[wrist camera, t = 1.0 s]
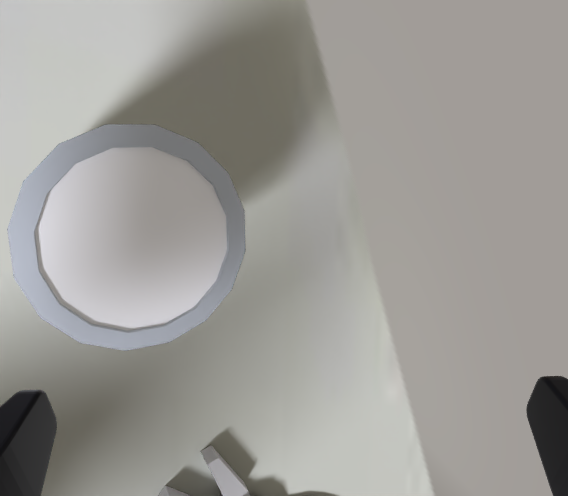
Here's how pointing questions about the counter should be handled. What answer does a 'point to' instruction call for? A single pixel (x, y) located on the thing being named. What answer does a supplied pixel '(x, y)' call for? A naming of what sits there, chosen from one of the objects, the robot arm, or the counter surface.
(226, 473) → the pliers
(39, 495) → the robot arm
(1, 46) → the counter surface
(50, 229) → the shot glass
